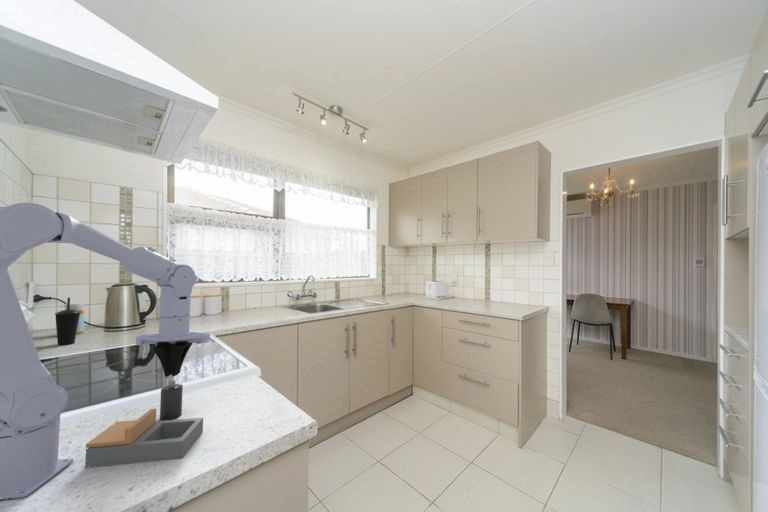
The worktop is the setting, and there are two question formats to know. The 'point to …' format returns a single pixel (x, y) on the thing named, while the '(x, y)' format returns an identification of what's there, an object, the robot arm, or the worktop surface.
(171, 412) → the plug
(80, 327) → the bottle
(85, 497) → the worktop surface
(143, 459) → the socket block
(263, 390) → the worktop surface
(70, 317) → the drinking cup
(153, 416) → the tan l-shaped bracket
